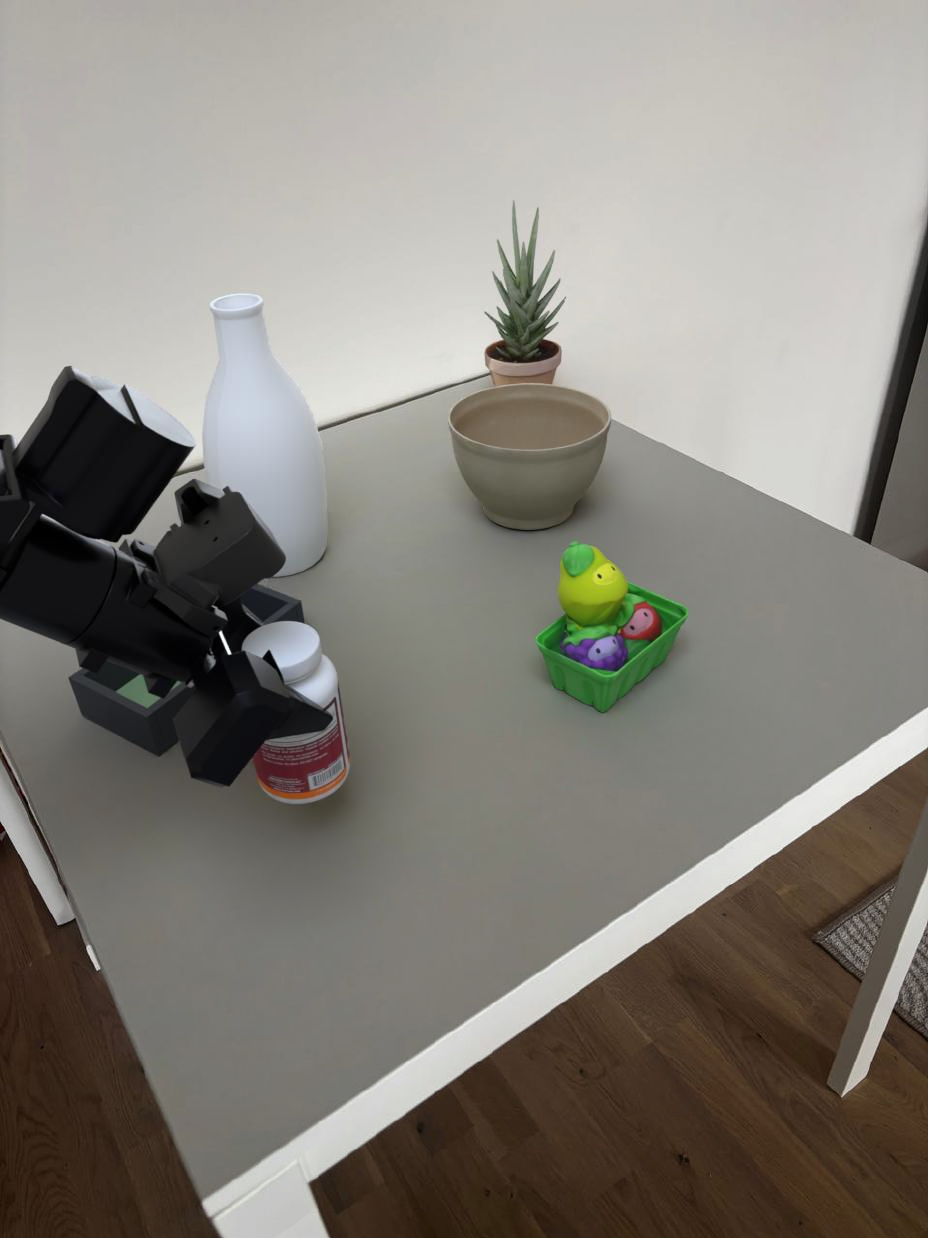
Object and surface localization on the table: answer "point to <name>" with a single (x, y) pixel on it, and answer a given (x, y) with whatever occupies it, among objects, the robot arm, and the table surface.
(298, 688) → the pill bottle
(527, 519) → the planter bowl
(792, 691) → the table surface
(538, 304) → the potted plant
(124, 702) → the tray
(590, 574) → the fruit basket
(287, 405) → the bottle
